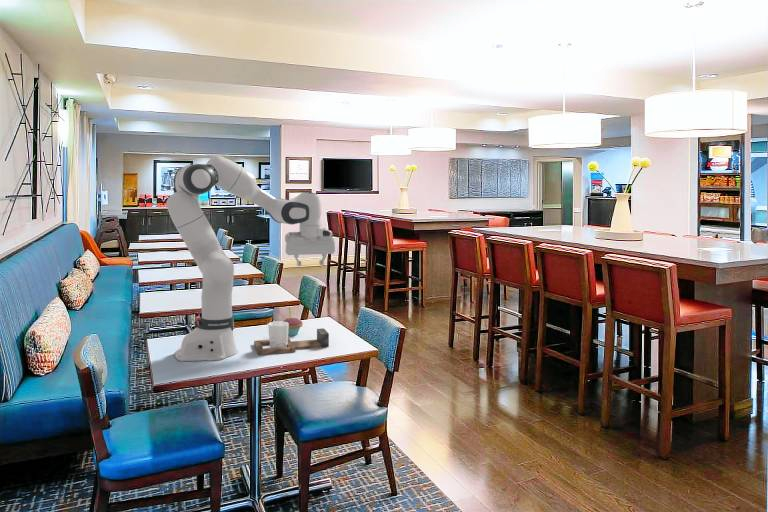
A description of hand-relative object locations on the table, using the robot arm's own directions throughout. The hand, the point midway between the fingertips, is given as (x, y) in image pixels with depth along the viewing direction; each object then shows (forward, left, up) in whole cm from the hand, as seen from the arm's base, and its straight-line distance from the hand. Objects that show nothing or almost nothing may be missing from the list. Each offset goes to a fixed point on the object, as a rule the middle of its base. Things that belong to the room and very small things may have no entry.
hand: (310, 265), depth 238 cm
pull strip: (-9, -10, -31) cm, 34 cm away
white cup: (-15, -10, -31) cm, 36 cm away
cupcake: (-6, +8, -31) cm, 33 cm away
